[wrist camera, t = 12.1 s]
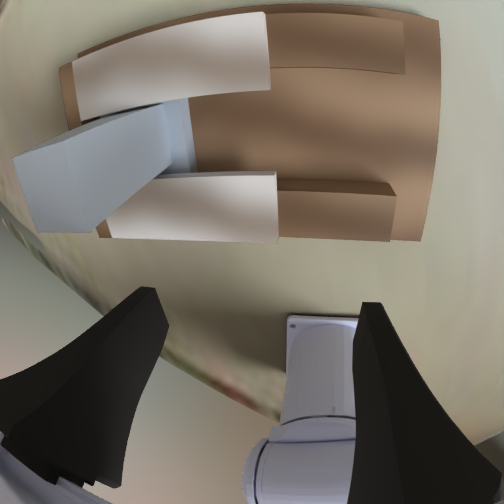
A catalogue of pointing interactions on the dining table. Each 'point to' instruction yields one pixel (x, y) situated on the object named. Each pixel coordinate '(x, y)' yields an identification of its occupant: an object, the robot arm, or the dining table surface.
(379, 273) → the dining table surface
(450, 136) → the dining table surface
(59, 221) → the t stud
